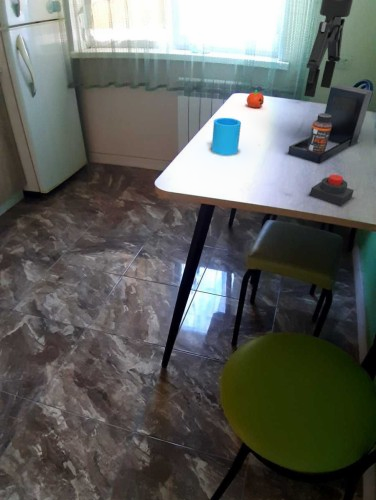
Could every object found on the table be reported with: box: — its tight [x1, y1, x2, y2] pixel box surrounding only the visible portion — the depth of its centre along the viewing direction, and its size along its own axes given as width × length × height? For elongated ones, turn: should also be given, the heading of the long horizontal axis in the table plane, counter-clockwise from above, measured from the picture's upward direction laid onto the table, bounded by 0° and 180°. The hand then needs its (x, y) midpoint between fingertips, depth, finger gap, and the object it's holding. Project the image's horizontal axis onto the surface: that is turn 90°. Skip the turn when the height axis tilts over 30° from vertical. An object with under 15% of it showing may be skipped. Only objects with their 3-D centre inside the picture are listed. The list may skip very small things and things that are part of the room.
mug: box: [211, 117, 242, 156], centre depth 132 cm, size 13×9×9 cm
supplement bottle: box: [306, 112, 332, 154], centre depth 132 cm, size 6×6×11 cm
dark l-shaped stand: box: [287, 84, 374, 164], centre depth 134 cm, size 12×28×16 cm, turn 140°
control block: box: [309, 176, 355, 207], centre depth 110 cm, size 9×7×4 cm
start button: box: [327, 174, 344, 186], centre depth 108 cm, size 4×4×2 cm
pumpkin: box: [246, 89, 265, 108], centre depth 170 cm, size 7×8×6 cm
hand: (317, 91), depth 118 cm, fingers open, 13 cm apart
